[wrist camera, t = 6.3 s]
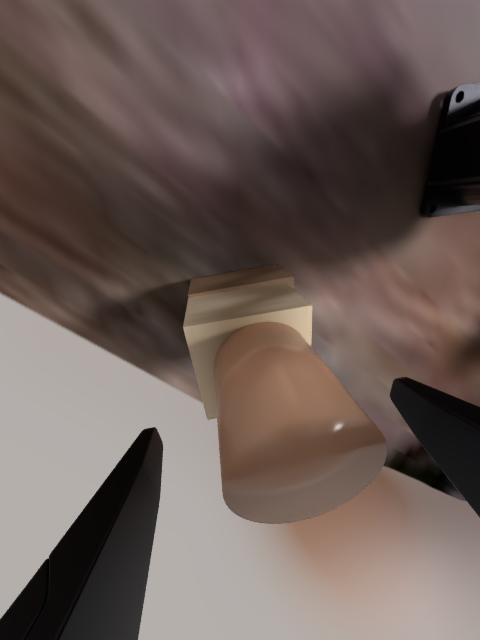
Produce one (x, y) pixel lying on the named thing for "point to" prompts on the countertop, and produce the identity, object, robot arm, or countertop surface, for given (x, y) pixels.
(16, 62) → the countertop surface
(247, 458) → the tan rounded piece
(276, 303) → the maple block
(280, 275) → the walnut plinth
